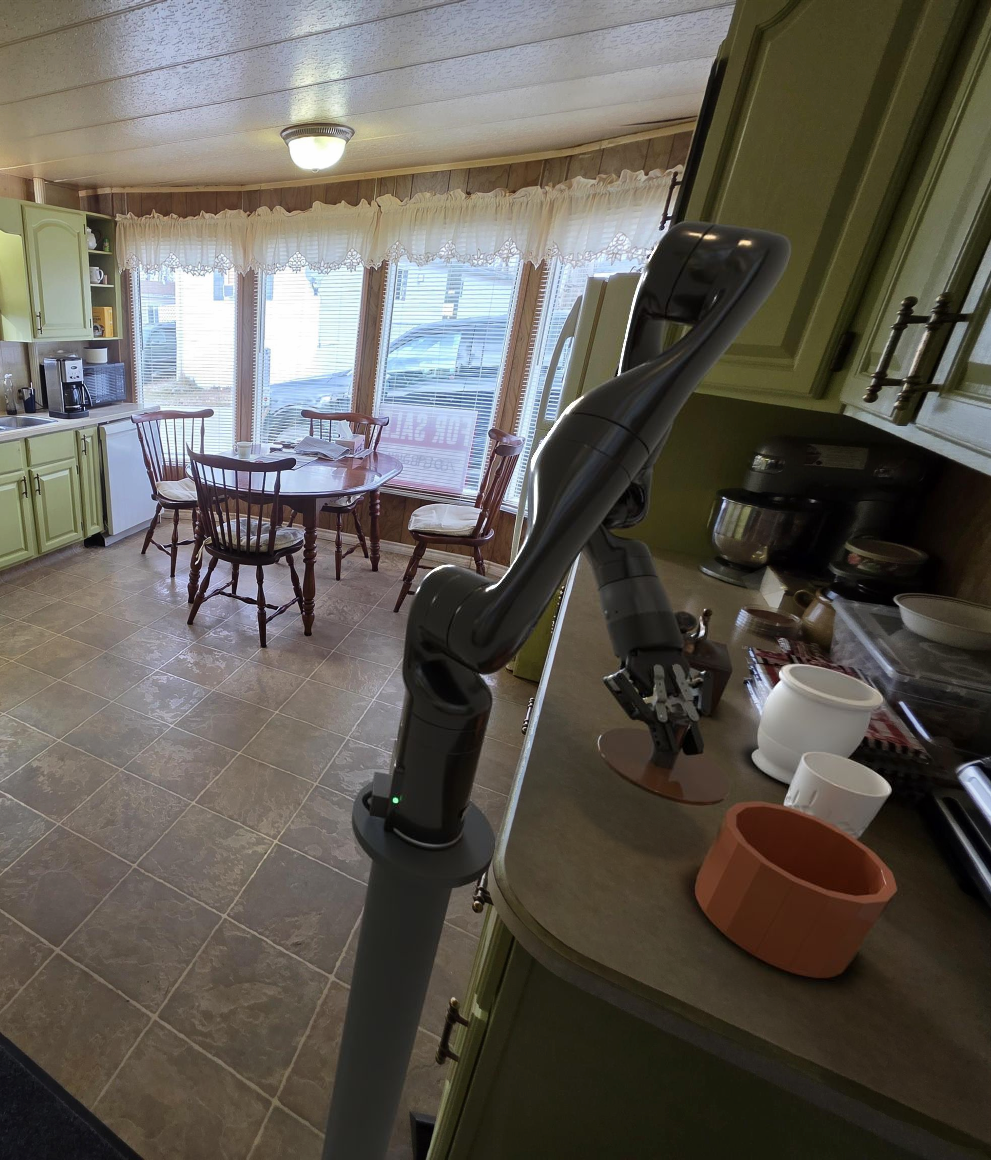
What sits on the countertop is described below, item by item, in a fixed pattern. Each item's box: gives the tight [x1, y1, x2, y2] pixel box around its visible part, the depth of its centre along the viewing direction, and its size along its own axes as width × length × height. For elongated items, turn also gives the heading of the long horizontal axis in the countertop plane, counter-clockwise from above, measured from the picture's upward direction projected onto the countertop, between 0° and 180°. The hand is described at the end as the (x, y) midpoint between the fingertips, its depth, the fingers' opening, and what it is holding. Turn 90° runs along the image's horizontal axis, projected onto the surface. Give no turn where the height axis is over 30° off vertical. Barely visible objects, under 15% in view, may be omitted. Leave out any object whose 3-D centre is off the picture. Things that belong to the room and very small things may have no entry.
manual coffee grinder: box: [673, 608, 733, 717], centre depth 102 cm, size 16×11×18 cm
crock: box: [694, 800, 898, 979], centre depth 64 cm, size 13×13×10 cm
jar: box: [751, 663, 884, 786], centre depth 86 cm, size 11×10×15 cm
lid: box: [596, 711, 732, 807], centre depth 75 cm, size 14×14×8 cm
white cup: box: [783, 752, 893, 840], centre depth 75 cm, size 8×8×10 cm
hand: (682, 754), depth 73 cm, fingers closed on lid, 2 cm apart
